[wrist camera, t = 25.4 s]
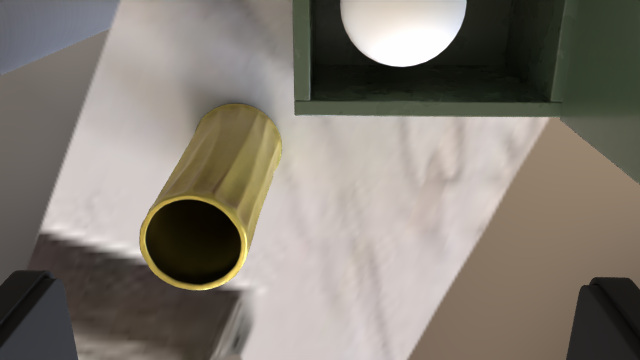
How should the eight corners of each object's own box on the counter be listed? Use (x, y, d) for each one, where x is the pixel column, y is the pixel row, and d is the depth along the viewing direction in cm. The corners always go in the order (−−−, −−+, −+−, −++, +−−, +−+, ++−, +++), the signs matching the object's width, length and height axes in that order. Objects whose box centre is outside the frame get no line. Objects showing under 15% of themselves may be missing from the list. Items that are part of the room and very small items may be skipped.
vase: (189, 177, 43) (124, 287, 29) (199, 94, 40) (133, 174, 27) (274, 192, 43) (247, 308, 30) (288, 111, 41) (266, 198, 27)
